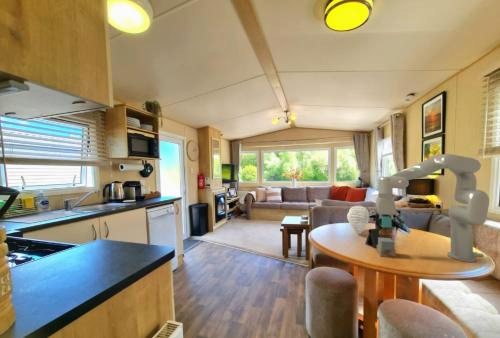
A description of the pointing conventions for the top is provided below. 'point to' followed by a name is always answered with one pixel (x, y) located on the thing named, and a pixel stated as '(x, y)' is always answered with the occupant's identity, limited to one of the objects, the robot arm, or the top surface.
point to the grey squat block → (386, 243)
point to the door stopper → (373, 238)
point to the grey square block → (386, 253)
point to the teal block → (386, 221)
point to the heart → (358, 231)
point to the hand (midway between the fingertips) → (385, 224)
